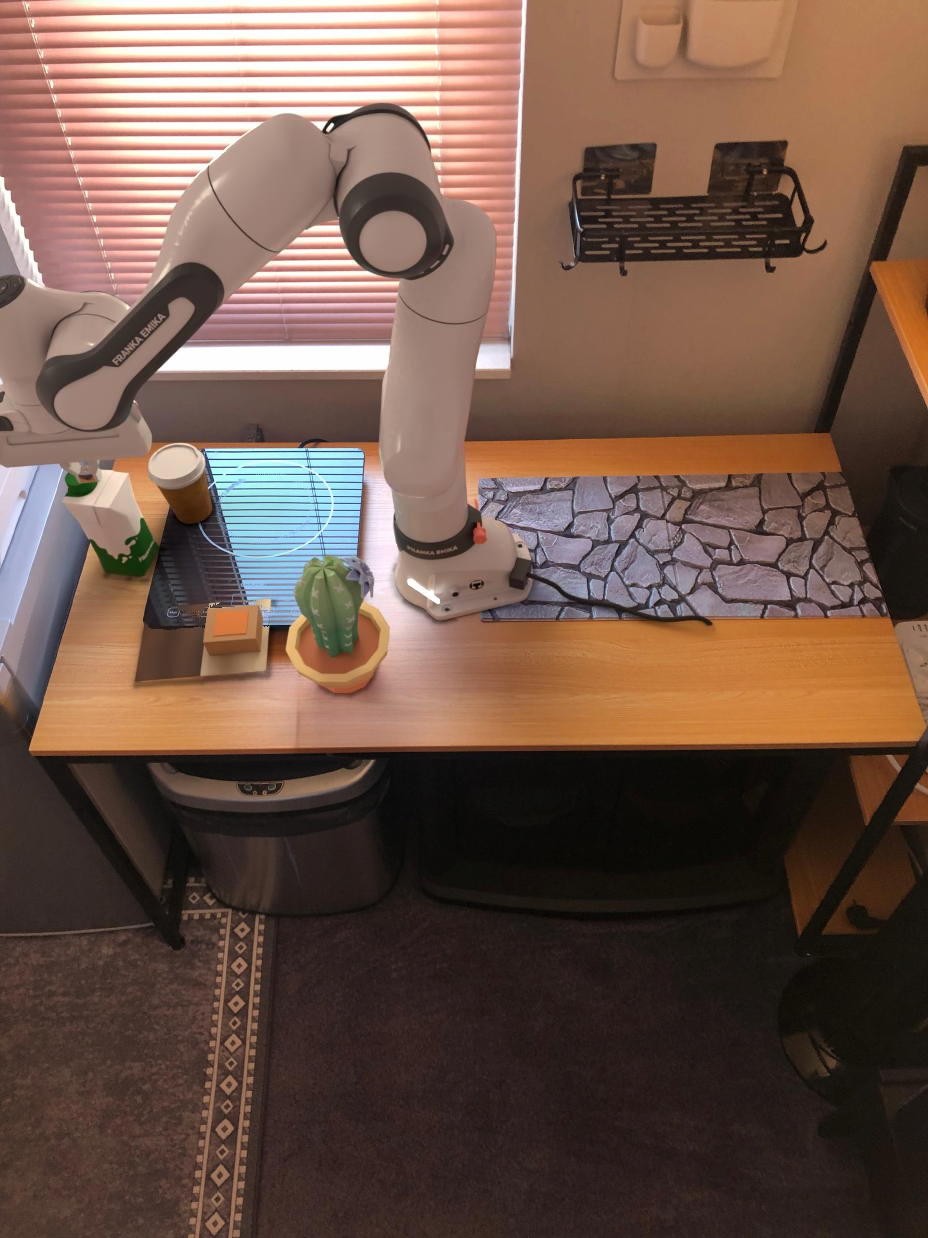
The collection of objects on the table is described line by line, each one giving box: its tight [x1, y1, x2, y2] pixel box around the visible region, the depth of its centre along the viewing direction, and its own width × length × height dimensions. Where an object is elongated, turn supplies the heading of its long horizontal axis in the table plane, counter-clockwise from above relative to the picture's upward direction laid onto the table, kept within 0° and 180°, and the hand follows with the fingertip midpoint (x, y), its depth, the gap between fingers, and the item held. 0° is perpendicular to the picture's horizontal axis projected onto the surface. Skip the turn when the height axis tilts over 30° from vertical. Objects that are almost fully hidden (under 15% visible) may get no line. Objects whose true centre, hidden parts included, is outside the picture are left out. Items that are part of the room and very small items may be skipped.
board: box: [134, 597, 272, 682], centre depth 148 cm, size 20×14×1 cm
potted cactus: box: [285, 554, 391, 694], centre depth 134 cm, size 15×15×25 cm
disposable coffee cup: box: [147, 442, 213, 525], centre depth 161 cm, size 10×10×12 cm
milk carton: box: [61, 469, 160, 578], centre depth 151 cm, size 9×9×20 cm
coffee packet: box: [203, 605, 263, 655], centre depth 146 cm, size 8×6×4 cm
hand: (90, 479), depth 130 cm, fingers closed
